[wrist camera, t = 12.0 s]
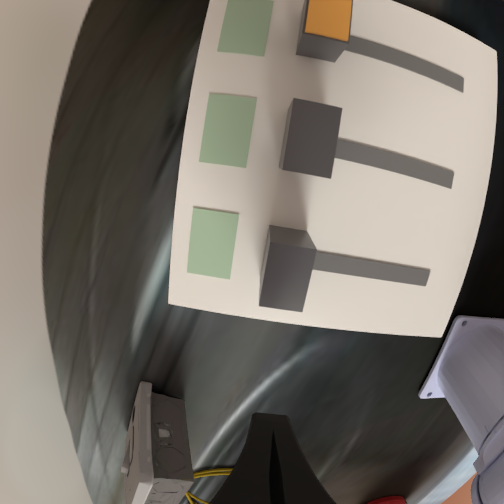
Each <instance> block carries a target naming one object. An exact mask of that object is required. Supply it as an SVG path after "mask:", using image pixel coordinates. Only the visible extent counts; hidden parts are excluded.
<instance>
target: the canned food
mask: <svg viewBox="0 0 504 504" xmlns="http://www.w3.org/2000/svg"><path fill="white" fill-rule="evenodd" d="M366 504H407V502H406V500H405V499H404V498H403V497H401V496H387V497H383V498H379V499H376V500H373V501H370V502H368V503H366Z"/></svg>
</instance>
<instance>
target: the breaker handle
mask: <svg viewBox="0 0 504 504" xmlns="http://www.w3.org/2000/svg"><path fill="white" fill-rule="evenodd" d="M352 9H353V0H304V4H303V8H302V15H301V22H300V29H299V35H298V42H297V49H296V55H300V56H306V57H311V58H316V59H320V60H325V61H329V62H334V63H335V62H336V60H337V59H338V58H339V56H340V55H341V54H342V53H343V51H344V50H345V49H346V47H347V46H348V45H349V41H350V31H351V20H352Z"/></svg>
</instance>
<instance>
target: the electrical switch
mask: <svg viewBox="0 0 504 504" xmlns="http://www.w3.org/2000/svg"><path fill="white" fill-rule="evenodd" d="M151 390H152V384H151V383H149V382H144V381H141V382H140V384H139V388H138V391H137V395H136V399H135V403H134V407H133V411H132V416H131V420H130V424H129V428H128V433H127V437H126V448H125V458H124V462H123V465H122V469H121V472H123V473H125V499H126V504H179V502H180V501H181V499H182V498H183V497H184V495H185V494H186V492H187V491H188V490H189V488H190V487H191V485H192V484H193V482H194V477H193V470H192V463H191V455H190V448H189V440H188V431H187V422H186V413H185V403H184V400H182V399H177V398H171V397H168V396H165V395H162V394H156V393H154V392H152V391H151ZM169 433H170V436H171V437H168V436H169ZM185 466H186V467H185ZM184 467H185V468H184ZM179 479H181V480H179Z"/></svg>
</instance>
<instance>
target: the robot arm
mask: <svg viewBox="0 0 504 504" xmlns="http://www.w3.org/2000/svg"><path fill="white" fill-rule="evenodd" d="M463 322H464V323H463ZM462 323H463V324H462ZM419 397H420V398H422V399H423V398H440V397H446V399H447V401H448V402H449V404H450V406H451V407H452V409H453V411H454V412H455V414H456V416H457V417H458V419H459V421H460V422H461V424H462V426H463V428H464V429H465V431H466V433H467V435H468V436H469V438H470V440H471V442H472V444H473V445H474V447H475V449H476V451H477V453H478V455H479V457H478V458H477V460H476V461H475V462H474V463H473V465H474V467H475V469H476V471H477V473H478V474H477V475H476V477H475V478H474V480H473V482H472V486H471V499H472V503H473V504H504V319H499V318H486V317H474V316H463V315H459V316H457V317H456V318H455V319H454V320H453V323H452V325H451V328H450V330H449V332H448V335H447V337H446V339H445V341H444V344H443V346H442V348H441V350H440V352H439V354H438V356H437V358H436V361H435V363H434V365H433V367H432V369H431V371H430V373H429V375H428V376H427V378H426V380H425V382H424V384H423V386H422V388H421V390H420V391H419ZM209 504H336V503H335V502H334V500H333V499H332V498H331V497H330V495H329V494H328V493H327V492H326V490H325V489H324V487H323V486H322V485H321V483H320V482H319V480H318V479H317V477H316V476H315V474H314V472H313V471H312V469H311V467H310V465H309V464H308V462H307V460H306V458H305V456H304V454H303V452H302V450H301V448H300V446H299V444H298V441H297V439H296V437H295V434H294V432H293V429H292V426H291V423H290V420H289V418H288V416H286V415H275V414H265V413H257V412H256V413H254V414H253V415H252V419H251V423H250V427H249V431H248V435H247V439H246V443H245V446H244V448H243V450H242V453H241V455H240V457H239V458H238V460H237V462H236V464H235V466H234V468H233V470H232V471H231V473H230V475H229V476H228V478H227V479H226V481H225V483H224V484H223V486H222V487H221V488H220V490H219V491H218V492H217V494H216V495H215V496H214V498H213V499H212V500H211V502H210V503H209Z"/></svg>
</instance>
